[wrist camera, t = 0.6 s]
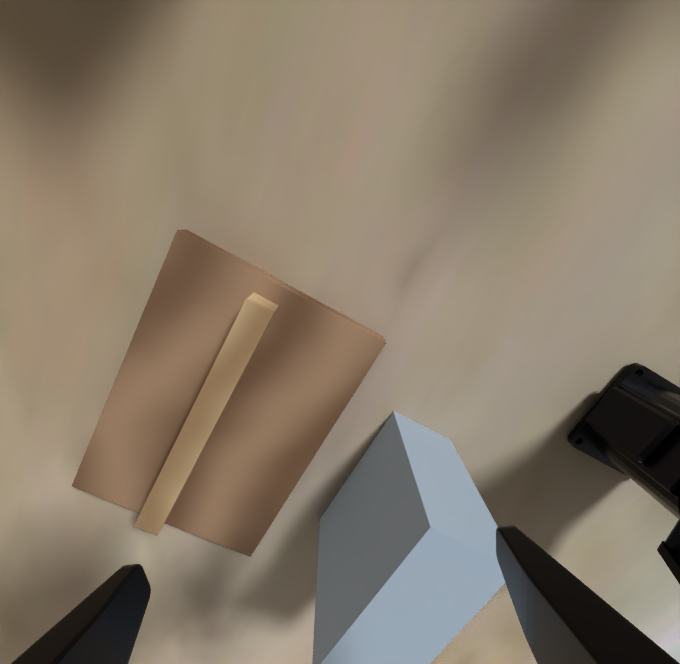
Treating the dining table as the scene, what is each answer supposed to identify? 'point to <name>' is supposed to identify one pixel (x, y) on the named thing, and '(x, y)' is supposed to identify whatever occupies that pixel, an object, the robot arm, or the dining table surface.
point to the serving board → (222, 397)
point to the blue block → (402, 553)
